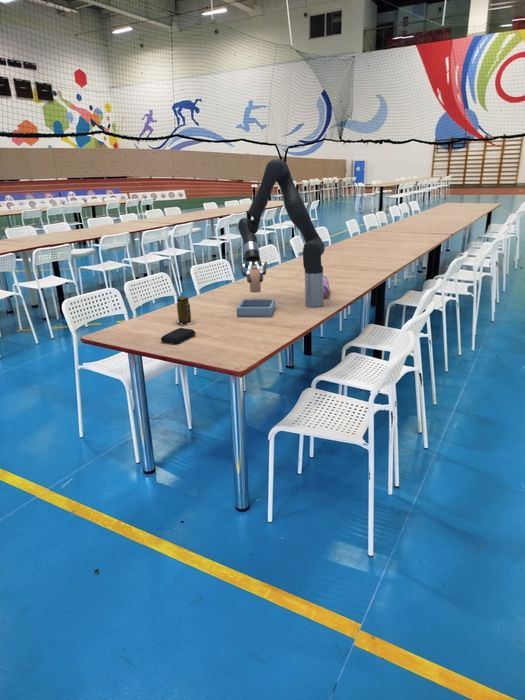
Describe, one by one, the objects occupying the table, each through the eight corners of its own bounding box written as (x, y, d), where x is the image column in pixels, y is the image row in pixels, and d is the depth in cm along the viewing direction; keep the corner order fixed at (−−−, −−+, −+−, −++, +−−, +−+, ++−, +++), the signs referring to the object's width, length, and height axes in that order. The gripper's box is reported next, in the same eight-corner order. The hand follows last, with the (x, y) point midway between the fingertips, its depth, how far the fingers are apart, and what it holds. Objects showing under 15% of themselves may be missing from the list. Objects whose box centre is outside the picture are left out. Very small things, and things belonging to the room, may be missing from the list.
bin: (275, 307, 246) (275, 299, 244) (271, 317, 231) (271, 308, 230) (243, 307, 249) (242, 299, 247) (237, 316, 234) (236, 308, 232)
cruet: (261, 289, 238) (260, 264, 234) (259, 292, 233) (258, 267, 229) (251, 289, 239) (250, 265, 234) (249, 292, 234) (248, 267, 230)
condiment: (189, 319, 234) (186, 295, 230) (195, 323, 227) (193, 298, 223) (175, 321, 231) (172, 297, 227) (181, 326, 224) (178, 301, 220)
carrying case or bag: (179, 346, 200) (199, 335, 212) (178, 339, 199) (198, 329, 211) (159, 343, 205) (180, 332, 217) (158, 336, 203) (179, 326, 215)
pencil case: (328, 299, 256) (328, 283, 253) (311, 299, 258) (311, 283, 254) (329, 289, 276) (329, 274, 273) (313, 290, 277) (313, 274, 274)
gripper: (237, 249, 235) (241, 278, 228) (266, 247, 237) (270, 276, 230) (237, 258, 242) (240, 286, 235) (265, 256, 243) (269, 284, 237)
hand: (255, 281), depth 233 cm, fingers closed on cruet, 5 cm apart
